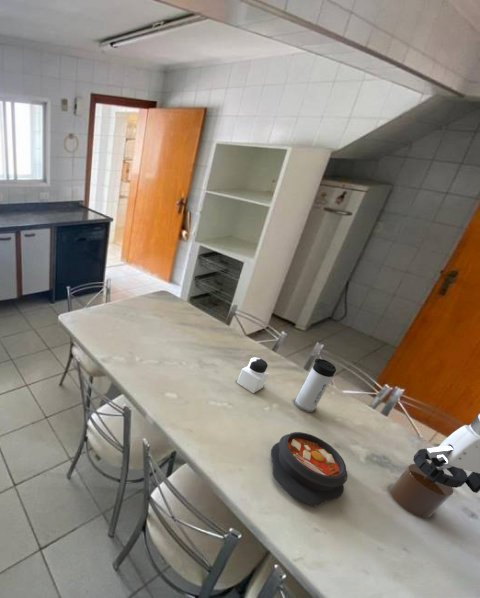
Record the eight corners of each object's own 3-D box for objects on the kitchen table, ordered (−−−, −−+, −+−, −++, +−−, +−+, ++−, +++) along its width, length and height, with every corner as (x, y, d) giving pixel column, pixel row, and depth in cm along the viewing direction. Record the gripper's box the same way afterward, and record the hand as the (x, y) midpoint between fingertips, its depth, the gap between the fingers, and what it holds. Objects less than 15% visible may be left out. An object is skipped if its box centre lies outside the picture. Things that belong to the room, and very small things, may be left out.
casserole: (328, 527, 83) (343, 508, 79) (254, 474, 95) (264, 455, 91) (350, 469, 99) (363, 451, 95) (284, 430, 111) (293, 412, 107)
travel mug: (294, 397, 126) (315, 355, 116) (314, 405, 122) (337, 362, 113) (292, 406, 121) (314, 363, 112) (313, 415, 118) (337, 372, 109)
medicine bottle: (263, 387, 129) (273, 363, 124) (253, 394, 125) (263, 369, 120) (246, 376, 134) (255, 353, 129) (236, 382, 130) (245, 358, 125)
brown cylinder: (418, 491, 94) (445, 462, 88) (439, 522, 86) (469, 492, 80) (383, 482, 96) (407, 452, 90) (400, 511, 88) (427, 481, 82)
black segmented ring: (445, 460, 88) (451, 454, 87) (471, 492, 80) (477, 486, 79) (405, 450, 90) (410, 444, 89) (426, 480, 82) (432, 474, 81)
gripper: (529, 430, 75) (480, 479, 83) (439, 410, 78) (400, 458, 86) (562, 458, 68) (505, 508, 76) (462, 434, 72) (417, 484, 80)
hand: (449, 481), depth 81 cm, fingers closed on black segmented ring, 7 cm apart
